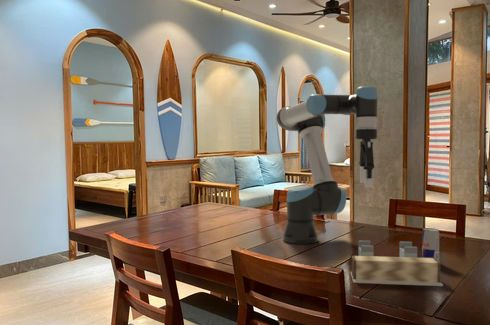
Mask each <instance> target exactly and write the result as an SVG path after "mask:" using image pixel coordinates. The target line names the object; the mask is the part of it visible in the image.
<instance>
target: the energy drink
mask: <svg viewBox="0 0 490 325" xmlns="http://www.w3.org/2000/svg"><path fill="white" fill-rule="evenodd" d="M421 250H422V254H421V256H422V257H421V258H436V259H437V260H438V261H439V262H440V230H439V229H437V228H434V227H425V228H423V230H422V248H421Z"/></svg>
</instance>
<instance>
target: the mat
mask: <svg viewBox="0 0 490 325" xmlns="http://www.w3.org/2000/svg"><path fill="white" fill-rule="evenodd" d="M350 277H351V278H352V279H351V280H352V282H353V283H355V284H375V285H376V284H379V285H400V286H401V285H405V286H427V287H428V286H429V287H430V286H431V287H432V286H433V287H444V284H443V283H442V282H441V281H440V282H415V281H389V280H362V279H353V276H352V271H350Z"/></svg>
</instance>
